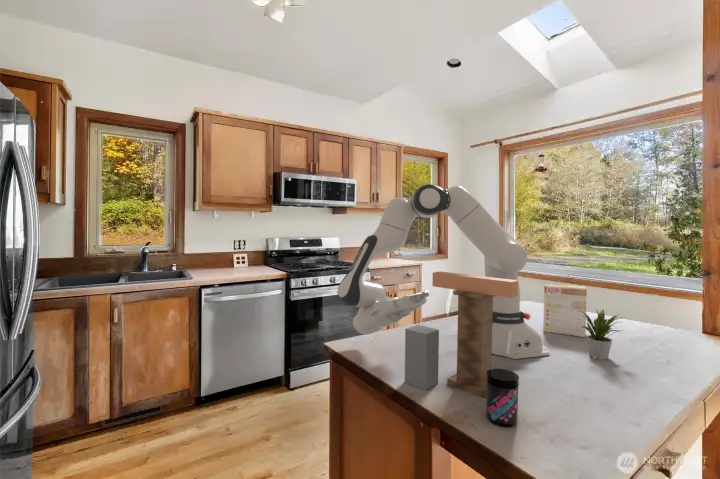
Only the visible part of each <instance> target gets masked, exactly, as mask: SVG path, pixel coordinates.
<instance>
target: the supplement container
mask: <svg viewBox="0 0 720 479" xmlns="http://www.w3.org/2000/svg"><path fill="white" fill-rule="evenodd" d="M519 382H520V377H519V375H518V374H517V373H516V372H514V371H512V370H509V369H505V368H491V369H490V370H488V371H487V393H486V402H485V405H486V406H485V416H486V419H487V420H488V421H489V422H490V423H492V424H493V425H496V426H498V427H503V428H511V427H515V425H516V424H518V420H519V419H518V418H519V417H518V415H519V388H520V387H519V386H520V383H519Z"/></svg>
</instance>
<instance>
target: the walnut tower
mask: <svg viewBox="0 0 720 479" xmlns="http://www.w3.org/2000/svg"><path fill="white" fill-rule="evenodd" d="M452 295H454V296H457V297H458V298H457V299H458V300H457V337H456V338H457V341H456V342H457V343H456V345H457V346H456V351H457V352H456V373H455V374H453V375H451V376H449V377H448V378H446V379H447V385H449V386H452V387H454V388H458V389H461V390H463V391H466V392H467V393H468V392H469V393H471V394H474V395H476V396H479V397H482V398H486V393H487V371H488V370H490V369H492V355H493V354H492V316H493V297H495V296H494V295H487V294H481V293H474V292H467V291H461V290H453V291H452Z"/></svg>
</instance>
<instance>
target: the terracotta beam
mask: <svg viewBox="0 0 720 479" xmlns="http://www.w3.org/2000/svg"><path fill="white" fill-rule="evenodd" d="M518 283H519V279H518V280H511V279H502V278H493V277H485V276H484V275H474V274H466V273H465V274H463V273H458V272H457V273H456V272H447V271H436V272H435V271H434V272H432V282H431V284H432V287H434V288H443V289H448V290H453V291H455V290H461V291H467V292H474V293H481V294H487V295H494V296H501V297H507V298H514V297H517V296H518Z"/></svg>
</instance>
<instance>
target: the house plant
mask: <svg viewBox="0 0 720 479" xmlns="http://www.w3.org/2000/svg"><path fill="white" fill-rule="evenodd" d="M601 309H602V310H601V311H598V310H597V308H595V311H596V313H597V317H596V318H595V319H593V321H592V320H591V318H590V316H589V315H588V314H587V313H586V314H585V313H584V312H583V311H581V312H582V313H583V314H584V315H585V316H586V326H582V327H581V328H585V329H586V330H587V331H588V332H589V334H590V335H587V336H586V339H587V340H586V341H587V347H588V354H589V356H590V357H591V356H592V357H591V358H594V357H595V358H594V359H597V358H599V359H598V360H608V359H609V356H610V352H611V351H610V350H611V347H612V343H613V339H612V338H609V337H610V336H612V335H613V334H616V333H617V332H618V333H620V334H622V332H624V330H617V329H613V328H611V327H612V326H614V325H615V324H617V323H619V321H616V320H619V319H625V317H624V316H623V317H621V314H616V315H615V314H614V315H613V316H612V317H610V318H607V319H606V315H605V311H604V309H603V308H601ZM582 316H583V315H582ZM618 316H620V317H618ZM583 317H584V316H583ZM614 321H616V322H614ZM613 322H614V323H613ZM620 323H622V324H623V322H622V321H620ZM610 332H613V333H611V334H610ZM608 334H609V335H608ZM607 335H608V336H607ZM607 358H608V359H607Z"/></svg>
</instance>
